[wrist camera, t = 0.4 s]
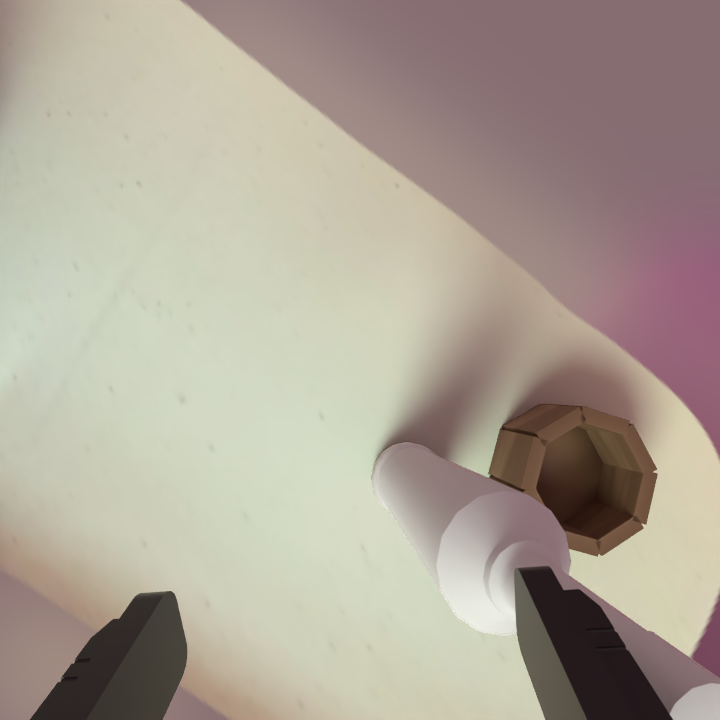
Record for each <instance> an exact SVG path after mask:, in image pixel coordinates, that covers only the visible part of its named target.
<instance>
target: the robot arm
mask: <svg viewBox="0 0 720 720" xmlns="http://www.w3.org/2000/svg"><path fill="white" fill-rule="evenodd" d="M514 587H515V612H516V629H517V636H518V641H519V646H520V650H521V653H522V656H523V659H524V662H525V665H526V668H527V670H528V673H529V676H530V678H531V681H532V684H533V687H534V689H535V692H536V695H537V698H538V700H539V703H540V706H541V708H542V711H543V714H544V717H545V719H546V720H673V719H672V717H671V715H670V714H669V712H668V711H667V709H666V708H665V706H664V705H663V703H662V701H661V700H660V698H659V697H658V695H657V694H656V692H655V691H654V689H653V687H652V686H651V684H650V683H649V681H648V680H647V678H646V676H645V675H644V673H643V672H642V670H641V669H640V667H639V666H638V664H637V662H636V661H635V659H634V658H633V656H632V655H631V653H630V652H629V650H627V649H626V645H625V644H624V642H623V641H622V639H621V638H620V636H619V634H618V633H617V632H615V630H614V627H613V625H612V624H611V622H610V620H609V619H608V617H607V616H606V614H605V613H604V611H603V609H602V608H601V606H600V605H598V604H597V603H596V602H595V601H593V600H592V599H591V598H590V597H588V596H587V595H586V594H585V593H584V592H582V591H581V590H580V589H572V590H563V588H562V586H561V584H560V583H559V581H558V579H557V577H556V576H555V574H554V572H553V570H552V569H551V567H549V566H536V567H522V568H515V571H514ZM186 661H187V643H186V639H185V634H184V630H183V625H182V621H181V617H180V612H179V608H178V603H177V599H176V596H175V594H174V593H173V592H171V591H166V592H152V593H140V594H138V595H137V596H135V598H134V599H133V600H132V602H131V603H130V604H129V606H128V607H127V609H126V610H125V611H124V613H123V614H122V616H121V617H120V619H113V620H112V621H110V622H109V623H108V624H107V625H106V626H105V627H103V628H102V629H101V630H100V631H99V632H98V633H96V634H95V635H94V636H93V637H92V638H91V639H90V640H89V641H88V643H87V644H86V645H85V647H84V648H83V649H82V651H81V652H80V653H79V655H78V656H77V658H76V659H75V663H74V664H71V665H70V667H69V668H68V670H67V671H66V672H65V674H64V675H63V676H62V680H61V682H58V683H57V684H56V686H55V687H54V688H53V690H52V691H51V692H50V694H49V695H48V696H47V698H46V699H45V700H44V702H43V703H42V704H41V706H40V707H39V708H38V710H37V711H36V712H35V714H34V715H33V716H32V718H31V719H30V720H163V717H164V715H165V713H166V711H167V709H168V707H169V704H170V702H171V700H172V698H173V696H174V693H175V691H176V689H177V687H178V685H179V683H180V681H181V678H182V676H183V673H184V670H185V666H186Z"/></svg>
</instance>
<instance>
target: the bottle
mask: <svg viewBox="0 0 720 720" xmlns="http://www.w3.org/2000/svg"><path fill="white" fill-rule="evenodd" d="M371 480H372V486H373V491H374V494H375V496H376V498H377V499H378V501H379V502H380V504H381V505H382V507H383V508H384V509H385V510H387V511H388V512H389V513H391V514H392V515H393V517H394V518H395V520H396V522H397V523H398V525H399V526H400V528H401V530H402V531H403V533H404V534H405V536H406V538H407V539H408V541H409V542H410V544H411V545H412V547H413V549H414V550H415V552H416V553H417V555H418V557H419V558H420V560H421V561H422V563H423V565H424V566H425V568H426V569H427V571H428V573H429V574H430V576H431V577H432V579H433V581H434V582H435V584H436V585H437V587H438V589H439V590H440V592H441V593H442V595H443V596H444V598H445V600H446V601H447V603H448V604H449V606H450V607H451V609H452V611H453V612H454V614H455V615H456V617H458V618H459V619H461V620H462V621H464V622H465V623H467V624H468V625H470V626H471V627H473V628H474V629H476V630H477V631H479V632H484V633H490V634H496V635H502V636H507V635H510V634H514V633H517V629H516V612H515V587H514V571H515V568H522V567H536V566H549V567H551V569H552V570H553V572H554V574H555V576H556V577H557V579H558V581H559V583H560V584H561V586H562V588H563V590H572V589H580V590H581V591H582V592H584V593H585V594H586V595H587V596H588V597H590V598H591V599H592V600H593V601H595V602H596V603H597V604H598V605H600V606H601V608H602V609H603V611H604V613H605V614H606V616H607V617H608V619H609V620H610V622H611V624H612V625H613V627H614V630H615V632H617V633H618V634H619V636H620V638H621V639H622V641H623V642H624V644H625V645H626V649H627V650H629V652H630V653H631V655H632V656H633V658H634V659H635V661H636V662H637V664H638V666H639V667H640V669H641V670H642V672H643V673H644V675H645V676H646V678H647V680H648V681H649V683H650V684H651V686H652V687H653V689H654V691H655V692H656V694H657V695H658V697H659V698H660V700H661V701H662V703H663V705H664V706H665V708H666V709H667V711H668V712H669V714H670V715H671V717H672V719H673V720H720V678H718V677H716V676H715V675H714V674H712V673H711V672H710V671H708V670H707V669H705V668H704V667H702V666H701V665H700V664H698V663H697V662H695V661H694V660H692V659H691V658H689V657H688V656H687V655H685V654H684V653H682V652H681V651H679V650H678V649H677V648H675V647H674V646H672V645H671V644H669V643H668V642H666V641H665V640H664V639H662V638H661V637H659V636H658V635H656V634H655V633H654V632H651V631H647V630H645V629H644V628H642V627H641V626H640V625H638V624H637V623H635V622H634V621H633V620H631V619H630V618H628V617H627V616H626V615H624V614H623V613H621V612H620V611H619V610H617V609H616V608H614V607H613V606H611V605H610V604H609V603H607V602H606V601H604V600H603V599H602V598H600V597H599V596H597V595H596V594H595V593H593V592H592V591H590V590H589V589H588V588H586V587H585V586H583V585H582V584H580V583H579V582H578V581H576V580H575V579H573V578H572V577H571V576H569V569H570V563H571V558H570V553H569V548H568V543H567V538H566V533H565V532H564V530H563V528H562V527H561V525H560V524H559V522H558V521H557V519H556V517H555V516H554V514H553V513H552V511H551V510H549V509H548V508H547V507H545V506H544V505H542V504H541V503H539V502H538V501H537V500H535V499H534V498H532V497H531V496H529V495H527V494H525V493H522V492H520V491H518V490H515V489H513V488H511V487H508V486H506V485H504V484H501V483H499V482H497V481H494V480H492V479H490V478H487V477H485V476H483V475H480V474H478V473H476V472H473V471H471V470H469V469H466V468H464V467H462V466H459V465H457V464H455V463H452V462H450V461H448V460H446V459H443V458H441V457H439V456H437V455H436V454H435V453H434V452H432V451H431V450H430V449H428V448H427V447H425V446H424V445H420V444H416V443H411V442H404V443H399V444H394V445H392V446H390V447H389V448H387V449H386V450H384V451H383V452H382V453H381V454H380V456H379V457H378V459H377V460H376V462H375V463H374V467H373V471H372V476H371Z"/></svg>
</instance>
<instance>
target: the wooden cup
mask: <svg viewBox="0 0 720 720" xmlns="http://www.w3.org/2000/svg"><path fill="white" fill-rule="evenodd" d="M629 422H630V421H628V420H625V419H622V418H618V417H615V416H612V415H609V414H606V413H602V412H599V411H596V410H593V409H590V408H586V407H582V406H568V405H553V404H539V405H537V406H536V407H534V408H532V409H531V410H529V411H527V412H525V413H524V414H522V415H520V416H519V417H517V418H515V419H514V420H512V421H510V422H509V423H507V424H505V425H503V428H504V430H501V429H500V431H499V435H498V439H497V443H496V447H495V450H494V454H493V458H492V462H491V466H490V470H489V473H488V474H490V475H492V476H491V477H489V478H490V479H492V480H494V481H497V482H499V483H501V484H504V485H506V486H508V487H511V488H513V489H515V490H518V491H520V492H522V493H525V494H527V495H529V496H531V497H532V498H534V499H535V500H537V501H538V502H539V503H541V504H542V505H544V506H545V507H547V508H548V509H549V510H551V511H552V513H553V514H554V516H555V517H556V519H557V521H558V522H559V524H560V525H561V527H562V528H563V530H564V532H565V533H566V538H567V543H568V548H569V549H572V550H576V551H579V552H583V553H587V554H590V555H594V556H598V554H600V555H601V556H603V555H604V554H606V553H607V552H609V551H610V550H612V549H613V548H615V547H616V546H618V545H619V544H621V543H622V542H624V541H625V540H627V539H628V538H630V537H631V536H633V535H634V534H636V533H637V532H639V531H640V530H642V529H643V526H642V524H646V523H647V519H648V514H649V510H650V505H651V501H652V497H653V492H654V488H655V483H656V479H657V475H658V474H657V473H653V471H655V470H657V468H656V466H655V464H654V462H653V461H652V459H651V457H650V455H649V453H648V451H647V449H646V447H645V445H644V444H643V442H642V440H641V438H640V436H639V434H638V432H637V430H636V429H635V427H634V425H633V424H629ZM641 523H642V524H641Z"/></svg>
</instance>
